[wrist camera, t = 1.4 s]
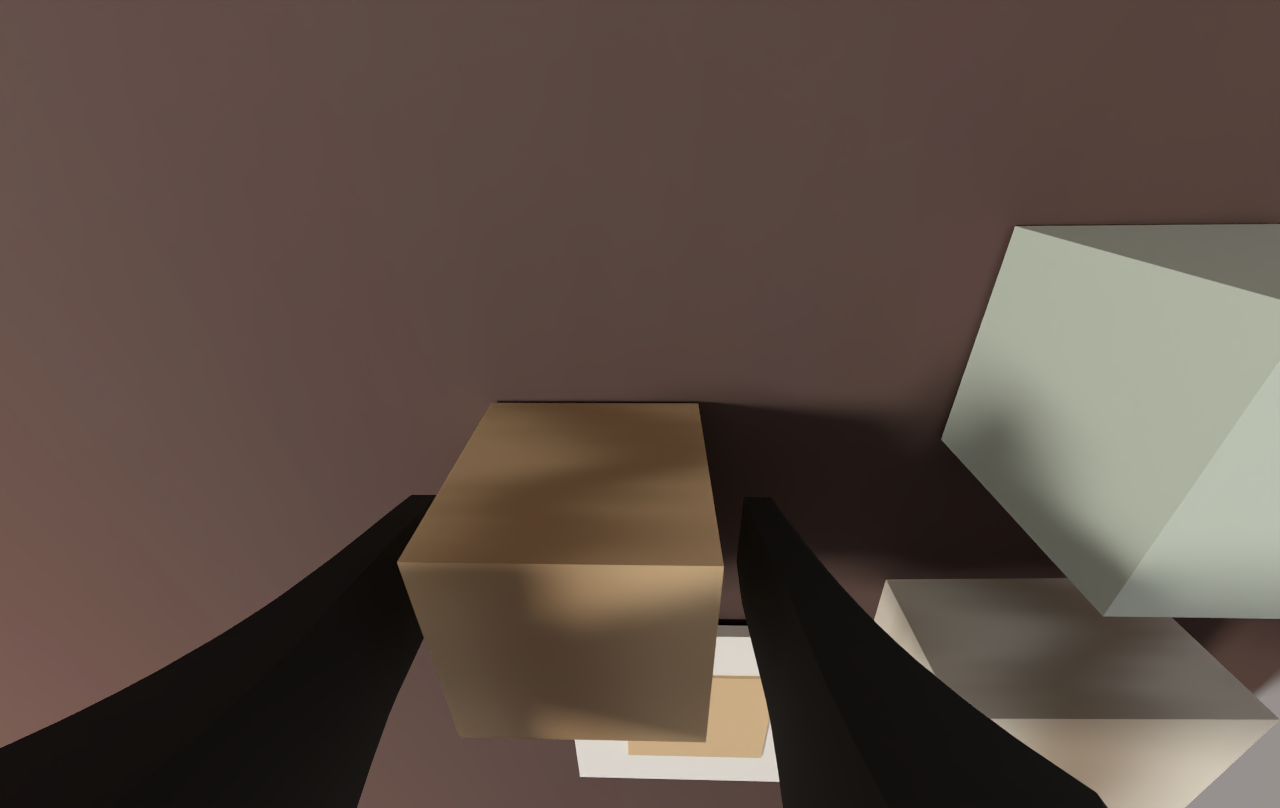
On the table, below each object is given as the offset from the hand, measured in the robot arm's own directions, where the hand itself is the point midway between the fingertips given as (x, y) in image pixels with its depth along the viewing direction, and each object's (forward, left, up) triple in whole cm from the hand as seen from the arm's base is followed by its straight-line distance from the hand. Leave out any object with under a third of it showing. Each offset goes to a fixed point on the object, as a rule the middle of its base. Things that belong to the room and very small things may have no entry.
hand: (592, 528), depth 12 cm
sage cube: (-11, -4, -2) cm, 12 cm away
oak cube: (0, 0, -2) cm, 2 cm away
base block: (-12, +7, -2) cm, 14 cm away
